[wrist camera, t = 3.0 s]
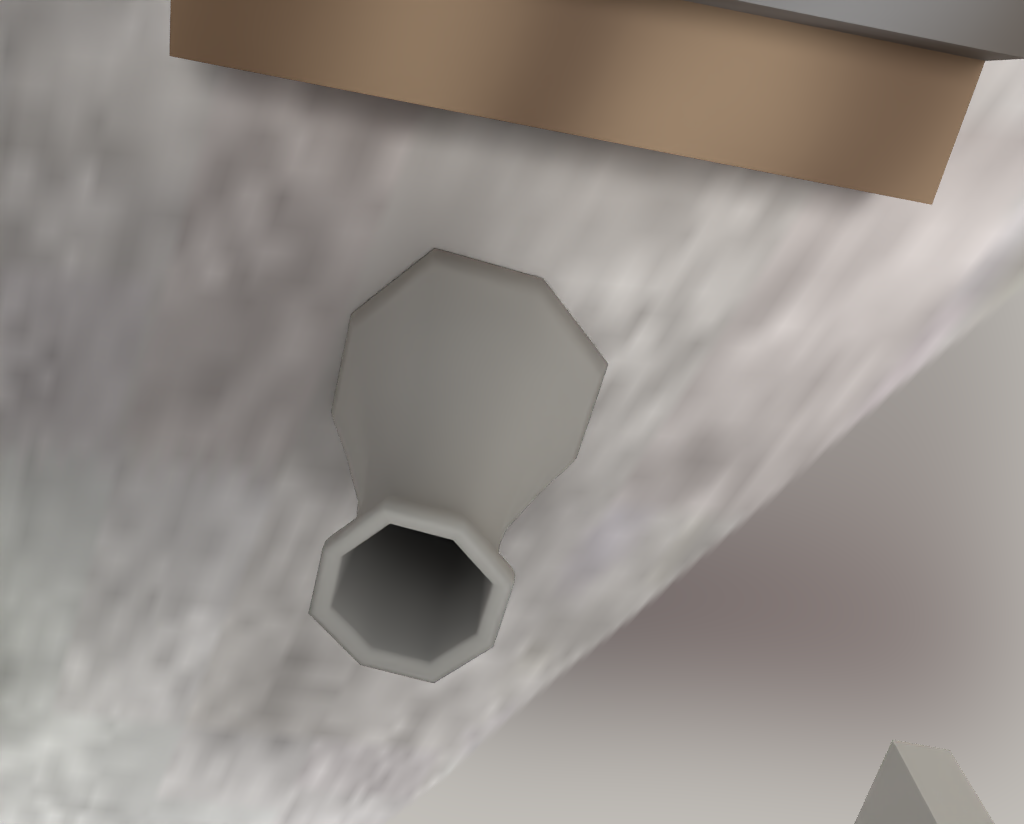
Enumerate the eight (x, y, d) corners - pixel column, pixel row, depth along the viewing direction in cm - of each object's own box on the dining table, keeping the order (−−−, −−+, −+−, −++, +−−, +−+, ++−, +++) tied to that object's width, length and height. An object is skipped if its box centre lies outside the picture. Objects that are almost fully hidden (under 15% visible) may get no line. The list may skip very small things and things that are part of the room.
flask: (289, 415, 23) (111, 642, 13) (425, 195, 20) (319, 288, 11) (504, 544, 24) (476, 834, 15) (655, 352, 22) (735, 554, 12)
